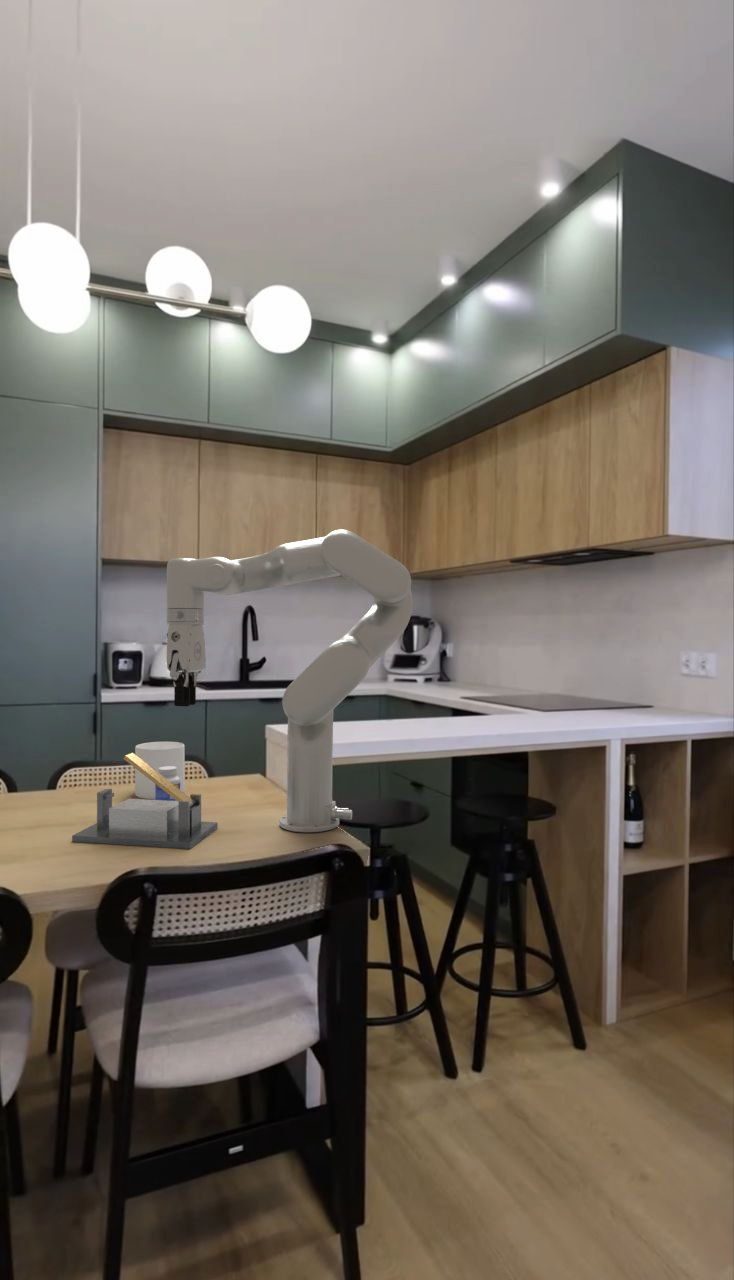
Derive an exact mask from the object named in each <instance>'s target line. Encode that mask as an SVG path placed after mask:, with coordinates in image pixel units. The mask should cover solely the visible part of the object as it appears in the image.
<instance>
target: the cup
mask: <svg viewBox="0 0 734 1280" xmlns="http://www.w3.org/2000/svg"><path fill="white" fill-rule="evenodd" d="M185 747H186V746H185V744H184V743H183V742H178V741H151V742H144V743H140V744H137V745H135V747H134V750H135V752H134V754H135V755H136V756H138V757H139V758H140V759H141V760H143V761H144V762H145V763H146V764H148V765H149V766H150V767H152V768H153V769H154V770H155V771H157V772H158V769H159V768H160V767H165V766H174V767H177V774H176V776H178V777H179V778H180V790H181V791H182V792H183V793H185V774H186V773H185V765H186V763H185V752H186V751H185ZM134 769H135V771H134V775H135V777H134V781H135V782H134V784H135V785H134V790H135V797H136V798H138V799H147V800H155V783H154V782H152V781H151V780H150V779H148V778H147V777H146V776H145V775H143V774H142V773H141V772H140V771H138V770H137V769H136V768H135V767H134Z"/></svg>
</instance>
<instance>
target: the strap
mask: <svg viewBox="0 0 734 1280" xmlns="http://www.w3.org/2000/svg"><path fill="white" fill-rule="evenodd" d="M123 760H124V761H126V762H127V763H128V764H129V765H131V766H132V767H133V768H134V769H135V768H136V769H137V770H138V771H140V772H141V773H142V774H143V775H145V776H146V777H147V778H148V779H150V780H151V781H152V782H154V783H155V784H156V785H157V786H159V787H160V788H161V789H162V790H164V791H165V792H166V793H167V794H169V795H170V796H171V797H173V798H174V799H175V800H176V801H178V802H179V801H190V807H191V806H193V805H195V804H196V800H192V799H191V798H190V796H189V795H187V794H186V793H185V792H184V793H183V792H182V791H181V790H180V789H178V788H177V787H176V786H174V785H173V784H172V783H171V782H169V781H168V780H167V779H166V778H164V777H163V776H162V775H160V774H159V773H158V772H157V771H155V770H154V769H153V768H152V767H150V766H149V765H148V764H146V763H145V762H144V761H143V760H141V759H140V758H139V757H138V756H136V755H135V752H131V753H128V754H126V755H124V756H123Z"/></svg>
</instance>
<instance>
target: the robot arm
mask: <svg viewBox="0 0 734 1280" xmlns="http://www.w3.org/2000/svg"><path fill="white" fill-rule="evenodd" d="M340 576H342V577H343V578H344V579H346V580H347V581H348V582H350V583H352V584H353V585H355V586H356V587H358V588H360V589H361V590H363V591H365V592H366V593H368V594H370V595H371V596H372V597H373V603H372V605H371V607H370V609H369V610H368V611H367V612H366V613H365V614H364V615H363V616H362V617H361V618H360V619H359V620H358V621H357V623H355V625H354V626H352V627H351V629H350V630H348V631H347V632H346V633H345V634H344V635H343V636H342V637H341V638H339V639H337V640H336V641H334V642H333V643H331V644H330V645H328V646H327V647H326V648H325V650H324V651H322V652H321V653H320V654H319V655H318V656H317V657H316V658H315V659H314V660H313V661H312V662H311V663H309V665H308V666H307V667H306V668H305V669H303V671H302V672H301V673H300V674H299V675H298V676H297V677H296V678H294V680H292V682H291V683H290V684H289V685H287V687H286V689H285V690H284V693H283V695H282V702H281V703H282V709H283V712H284V714H285V715H286V718H287V735H286V736H287V741H286V742H287V744H286V745H287V746H286V747H287V751H286V814H284V815H283V816H281V817H280V818H279V821H278V822H279V826H280V827H281V828H282V829H284V830H287V831H290V832H296V833H321V832H325V831H330V830H334V829H335V828H337V827H339V825H340V819H342V820H352V819H353V810H352V809H349V807H338V806H337V804H336V803H337V802H336V800H333V749H334V747H333V743H334V739H333V738H334V710H335V708H336V707H337V706H338V705H339V704H341V702H343V701H344V700H345V698H347V697H348V696H349V695H350V694H351V693H352V692H353V691H354V690H355V689H356V688H357V687H358V686H359V685H360V684H361V682H363V681H364V679H365V678H366V676H367V675H368V672H369V670H370V668H371V667H372V666H373V665H374V664H375V663H376V662H377V661H378V660H379V659H380V658H381V657H382V656H383V655H384V654H385V652H386V651H388V650H389V649H390V648H391V646H392V645H393V644H394V643H395V642H396V641H398V639H399V638H400V637H401V635H402V634H403V633H404V631H405V630H406V628H407V627H408V624H409V623H410V619H411V616H412V612H413V606H414V605H413V604H414V603H413V600H414V599H413V594H412V589H411V587H412V577H411V575H410V572H409V570H408V568H407V567H406V566H405V565H404V564H402V563H401V562H400V561H398V560H397V559H395V558H394V557H392V556H390V555H389V554H388V553H386V552H384V551H383V550H381V549H380V548H377V547H376V546H374V545H373V544H371V543H370V542H368V541H367V540H365V539H364V538H362V537H361V536H360V535H359V534H358V535H357V534H356V533H355V532H354V531H353V532H352V531H351V530H347V529H343V528H342V529H337V530H336V529H335V530H333V531H331V532H329V533H328V534H327V535H326V536H322V537H317V538H311V539H306V540H299V541H293V542H287V543H284V544H280V545H278V546H276V547H275V548H274V549H272V550H270V551H268V552H266V553H262V554H259V555H254V556H250V557H245V558H244V557H243V558H239V559H229V558H226V557H222V556H213V557H206V558H205V557H204V558H192V557H191V558H189V557H188V558H186V557H178V558H171V559H169V561H168V562H167V565H166V625H168V630H167V637H166V638H167V641H166V667H167V668H166V669H167V670H168V671H169V676H170V678H171V679H172V680H173V688H174V689H173V692H174V693H173V694H174V695H173V696H174V700H173V701H174V704H173V705H174V706H175V707H190V706H194V705H196V702H197V701H196V699H197V696H196V695H197V694H196V692H197V689H196V688H197V682H198V681H197V677H198V675H199V673H200V671H203V670H205V668H206V664H207V662H206V643H205V642H206V641H205V639H206V638H205V632H204V626H203V625H205V624H204V621H205V619H204V617H205V615H204V614H205V613H204V611H205V610H204V608H205V607H204V606H205V604H204V602H205V600H204V599H205V597H204V595H205V592H206V593H213V594H219V595H224V596H234V595H238V594H243V593H250V592H255V591H260V590H261V591H262V590H265V589H271V588H275V587H276V588H278V587H286V586H290V585H293V584H295V585H296V584H299V583H305V582H310V581H311V582H312V581H315V580H321V579H327V578H333V577H340Z"/></svg>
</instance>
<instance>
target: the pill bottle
mask: <svg viewBox="0 0 734 1280" xmlns="http://www.w3.org/2000/svg"><path fill="white" fill-rule="evenodd" d="M158 773H159V774H160V775H162V776H163V777H164V778H166V779H167V780H168V781H169V782H171V783H172V784H173V785H174V786H176V787H177V788H178V789H180V778H179V777H178V776H176V774H177V767H174V766H165V767H160V768H159V769H158ZM154 800H166V801H176V800H175V799H174V798H173V797H171V796H170V795H169V794H167V793H166V792H165V791H164V790H162V789H161V788H160V787H159V786H157V785H156V784H155V799H154Z"/></svg>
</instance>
